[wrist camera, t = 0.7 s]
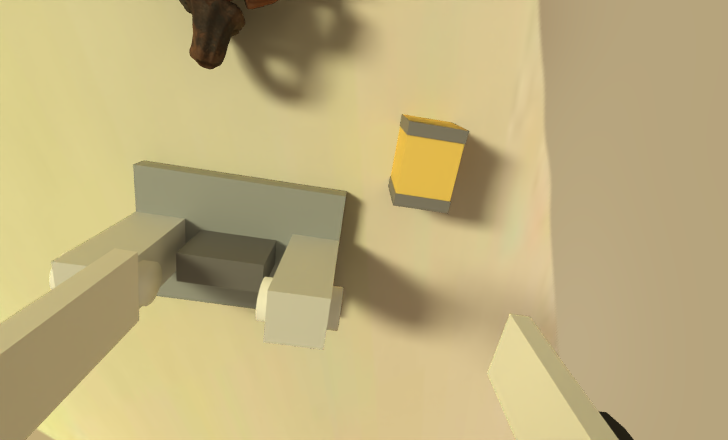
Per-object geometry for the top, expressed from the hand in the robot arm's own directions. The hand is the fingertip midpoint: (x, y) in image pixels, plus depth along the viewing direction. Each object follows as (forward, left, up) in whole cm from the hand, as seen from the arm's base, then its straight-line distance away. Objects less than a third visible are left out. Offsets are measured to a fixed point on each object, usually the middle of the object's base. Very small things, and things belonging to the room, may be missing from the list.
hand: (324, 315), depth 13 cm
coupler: (-3, +6, -20) cm, 21 cm away
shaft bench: (+7, -8, -20) cm, 22 cm away
